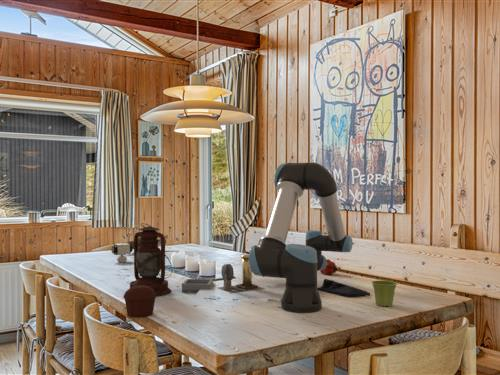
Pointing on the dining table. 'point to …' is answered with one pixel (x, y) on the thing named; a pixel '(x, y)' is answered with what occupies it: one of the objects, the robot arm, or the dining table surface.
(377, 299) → the plant pot
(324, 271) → the red bumpy oval lump
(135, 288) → the muffin
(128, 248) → the pneumatic valve
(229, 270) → the board
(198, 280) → the tray
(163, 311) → the dining table surface
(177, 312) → the dining table surface
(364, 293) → the dark slate chunk
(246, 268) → the lock pin
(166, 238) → the wood carving
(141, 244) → the lantern
